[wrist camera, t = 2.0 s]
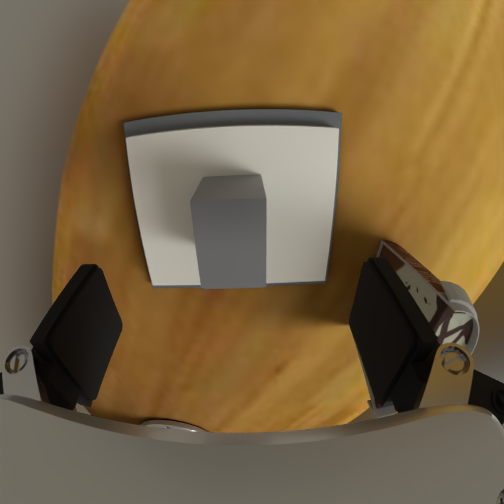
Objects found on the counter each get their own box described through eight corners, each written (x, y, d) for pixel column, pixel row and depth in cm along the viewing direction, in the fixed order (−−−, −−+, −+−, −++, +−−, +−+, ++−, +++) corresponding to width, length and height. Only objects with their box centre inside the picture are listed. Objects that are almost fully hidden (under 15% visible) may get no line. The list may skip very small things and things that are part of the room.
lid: (321, 273, 21) (340, 321, 17) (156, 277, 21) (136, 326, 16) (334, 127, 16) (369, 137, 11) (131, 135, 16) (90, 150, 11)
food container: (394, 333, 27) (429, 408, 18) (344, 336, 26) (373, 421, 17) (440, 231, 20) (510, 299, 12) (386, 222, 20) (459, 302, 11)
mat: (324, 279, 22) (326, 283, 22) (154, 283, 22) (152, 288, 22) (338, 112, 16) (341, 112, 15) (126, 122, 16) (123, 122, 15)
